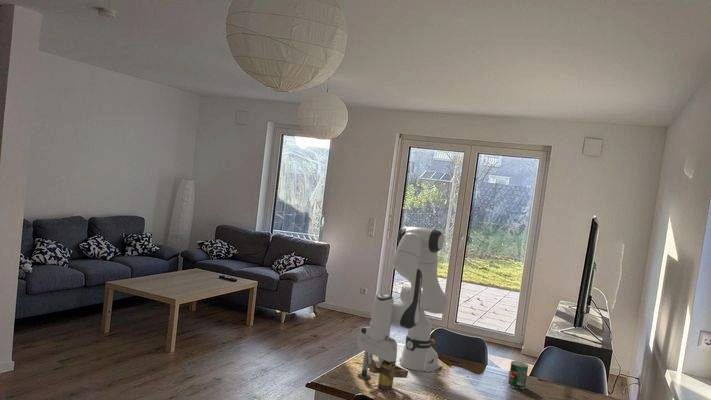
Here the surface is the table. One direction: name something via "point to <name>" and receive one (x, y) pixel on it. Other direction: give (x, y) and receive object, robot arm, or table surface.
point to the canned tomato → (518, 374)
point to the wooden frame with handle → (388, 371)
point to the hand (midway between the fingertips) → (374, 365)
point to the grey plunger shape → (364, 368)
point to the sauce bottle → (383, 380)
